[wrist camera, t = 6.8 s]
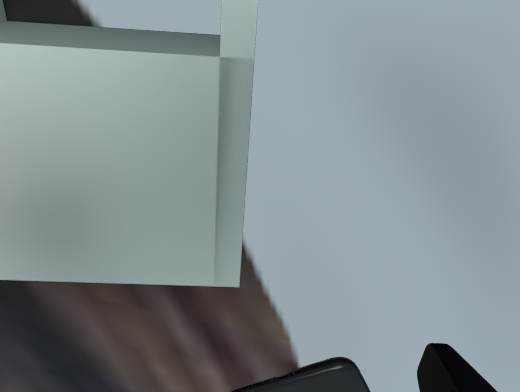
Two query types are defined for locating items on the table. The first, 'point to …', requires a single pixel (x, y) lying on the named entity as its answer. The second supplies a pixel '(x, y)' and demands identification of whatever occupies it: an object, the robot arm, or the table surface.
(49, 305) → the table surface
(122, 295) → the table surface
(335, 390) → the smartphone
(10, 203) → the box
